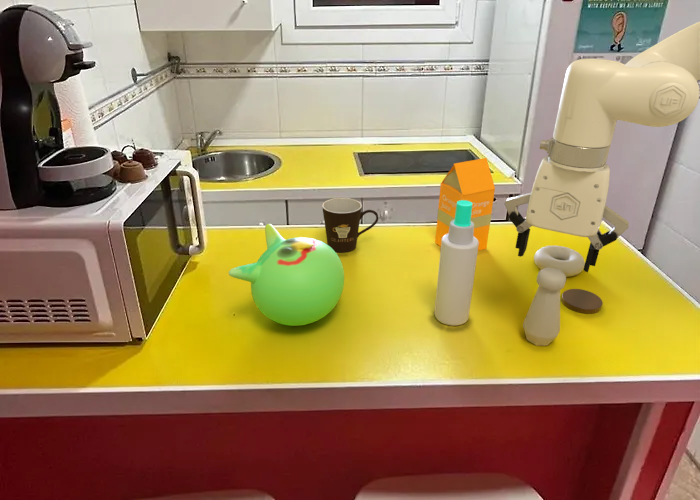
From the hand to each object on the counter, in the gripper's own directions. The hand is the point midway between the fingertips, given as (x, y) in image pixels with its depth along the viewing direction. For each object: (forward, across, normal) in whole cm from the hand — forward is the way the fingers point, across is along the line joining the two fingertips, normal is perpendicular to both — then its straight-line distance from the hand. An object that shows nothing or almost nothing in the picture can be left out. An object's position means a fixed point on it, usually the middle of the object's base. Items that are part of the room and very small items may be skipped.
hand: (553, 260), depth 81 cm
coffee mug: (+16, -44, +14) cm, 48 cm away
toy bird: (+16, -40, -13) cm, 44 cm away
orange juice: (+15, -22, +27) cm, 38 cm away
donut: (+15, 0, +27) cm, 31 cm away
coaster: (+15, +6, +15) cm, 22 cm away
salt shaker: (+15, 0, 0) cm, 15 cm away
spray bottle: (+15, -14, -1) cm, 21 cm away
